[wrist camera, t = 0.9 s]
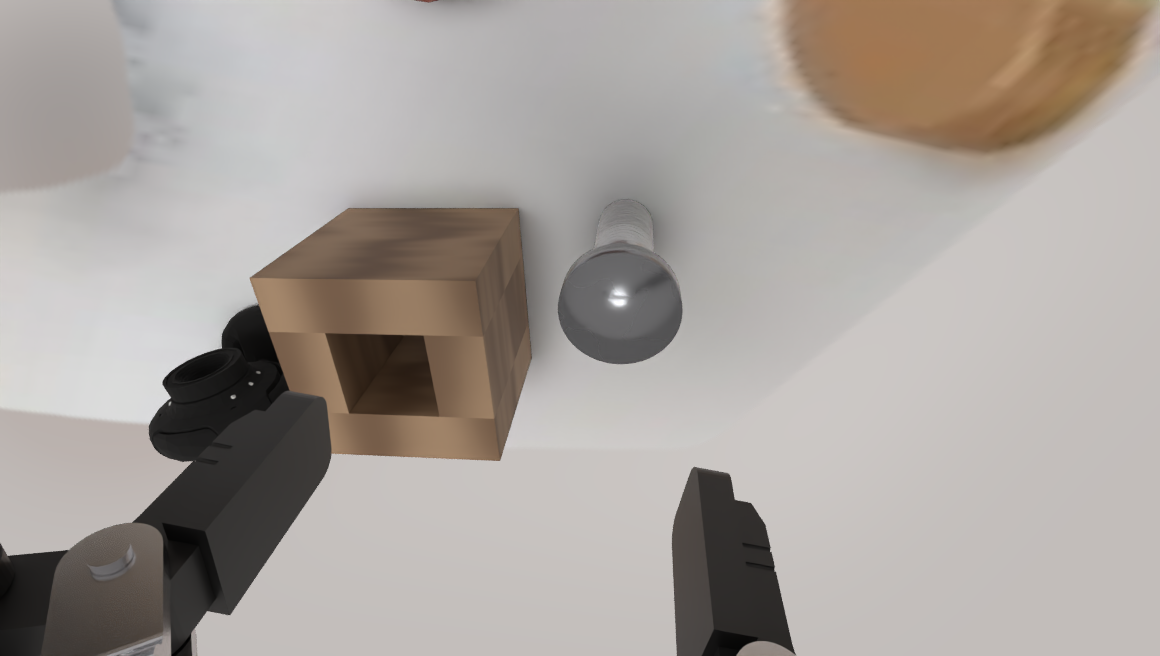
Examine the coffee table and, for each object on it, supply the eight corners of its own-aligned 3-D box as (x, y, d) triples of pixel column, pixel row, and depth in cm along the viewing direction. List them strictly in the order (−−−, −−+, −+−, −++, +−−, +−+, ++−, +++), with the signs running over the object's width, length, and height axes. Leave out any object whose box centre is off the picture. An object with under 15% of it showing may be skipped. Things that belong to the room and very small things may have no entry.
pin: (673, 180, 30) (686, 255, 21) (668, 267, 32) (678, 365, 24) (579, 181, 30) (554, 254, 22) (582, 266, 33) (560, 362, 24)
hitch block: (518, 208, 32) (475, 280, 23) (531, 358, 37) (500, 460, 28) (348, 208, 32) (249, 278, 24) (383, 354, 37) (311, 452, 29)
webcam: (313, 295, 36) (209, 388, 27) (357, 390, 39) (278, 499, 31) (207, 310, 37) (76, 403, 28) (259, 400, 41) (157, 507, 32)
